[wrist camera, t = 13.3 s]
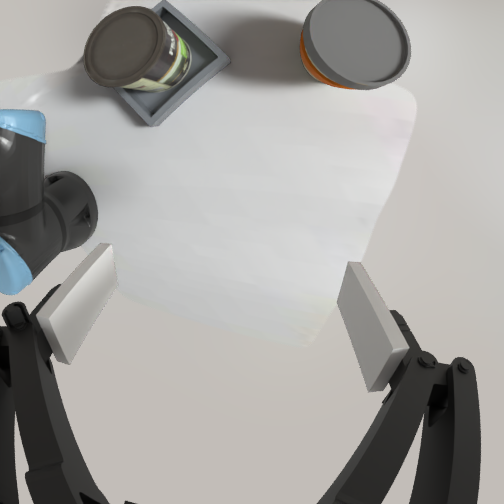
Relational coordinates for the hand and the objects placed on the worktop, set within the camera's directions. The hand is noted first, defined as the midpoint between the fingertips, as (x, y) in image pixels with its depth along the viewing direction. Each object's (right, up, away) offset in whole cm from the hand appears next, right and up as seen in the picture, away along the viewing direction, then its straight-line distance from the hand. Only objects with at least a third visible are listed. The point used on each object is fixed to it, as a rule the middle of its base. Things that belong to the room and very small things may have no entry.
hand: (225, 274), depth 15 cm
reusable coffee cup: (+13, +31, +20) cm, 39 cm away
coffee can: (-13, +30, +19) cm, 38 cm away
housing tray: (-12, +30, +20) cm, 38 cm away
